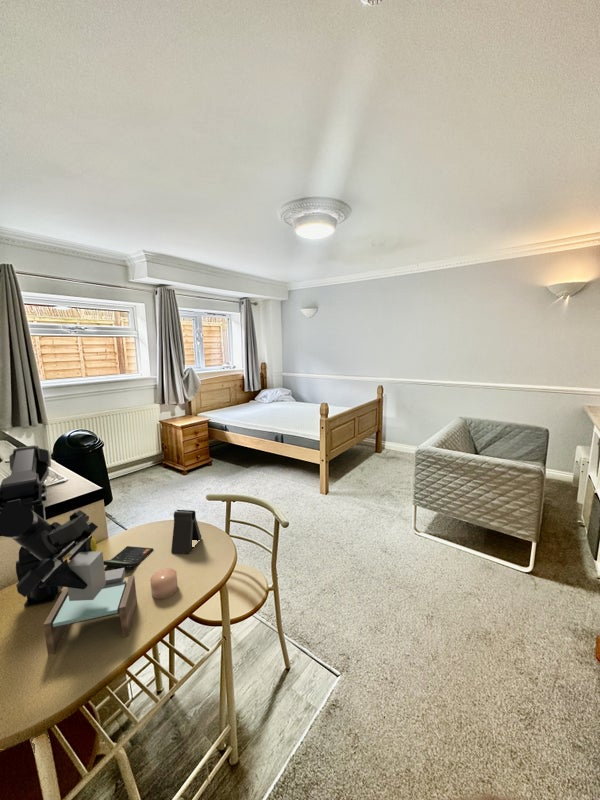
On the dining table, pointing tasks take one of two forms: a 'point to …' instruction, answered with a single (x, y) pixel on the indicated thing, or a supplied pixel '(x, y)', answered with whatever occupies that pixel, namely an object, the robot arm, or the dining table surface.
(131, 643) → the dining table surface
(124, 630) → the frame
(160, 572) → the pink rounded block
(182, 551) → the dark folding easel stand
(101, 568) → the gray rectangular block
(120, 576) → the trapdoor
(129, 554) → the calculator
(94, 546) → the lemon
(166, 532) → the dining table surface
